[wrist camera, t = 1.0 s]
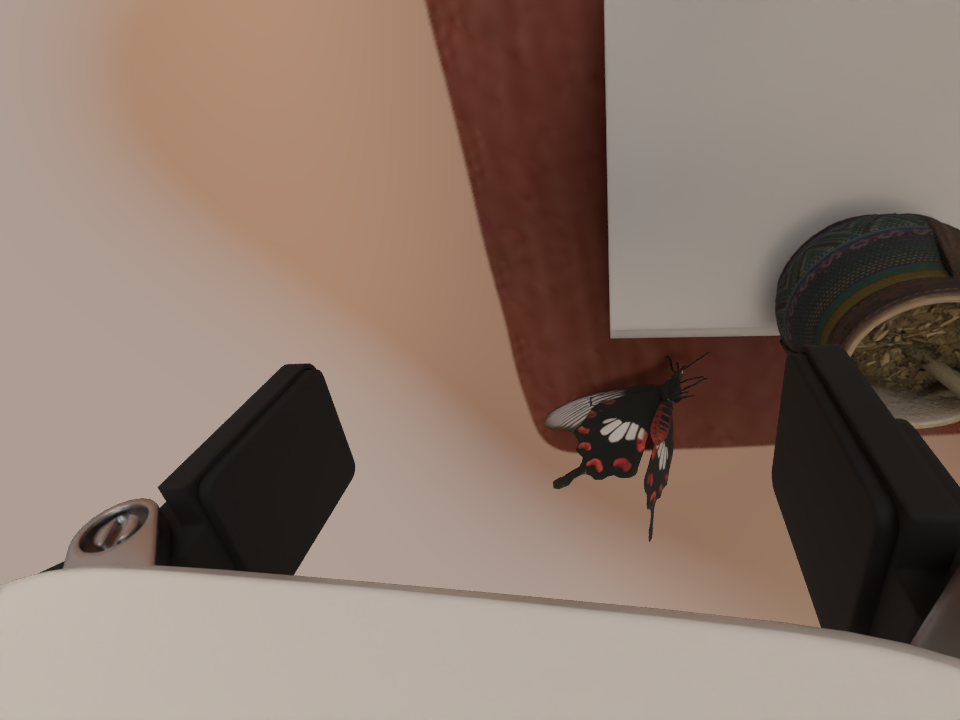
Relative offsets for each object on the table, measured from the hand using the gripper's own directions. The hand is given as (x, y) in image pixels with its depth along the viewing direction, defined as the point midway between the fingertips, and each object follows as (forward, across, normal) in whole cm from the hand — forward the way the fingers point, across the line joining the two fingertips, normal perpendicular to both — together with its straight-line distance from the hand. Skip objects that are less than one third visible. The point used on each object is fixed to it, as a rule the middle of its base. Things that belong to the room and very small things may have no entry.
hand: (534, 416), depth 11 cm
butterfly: (+14, -3, +12) cm, 18 cm away
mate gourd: (+17, -12, +5) cm, 21 cm away
